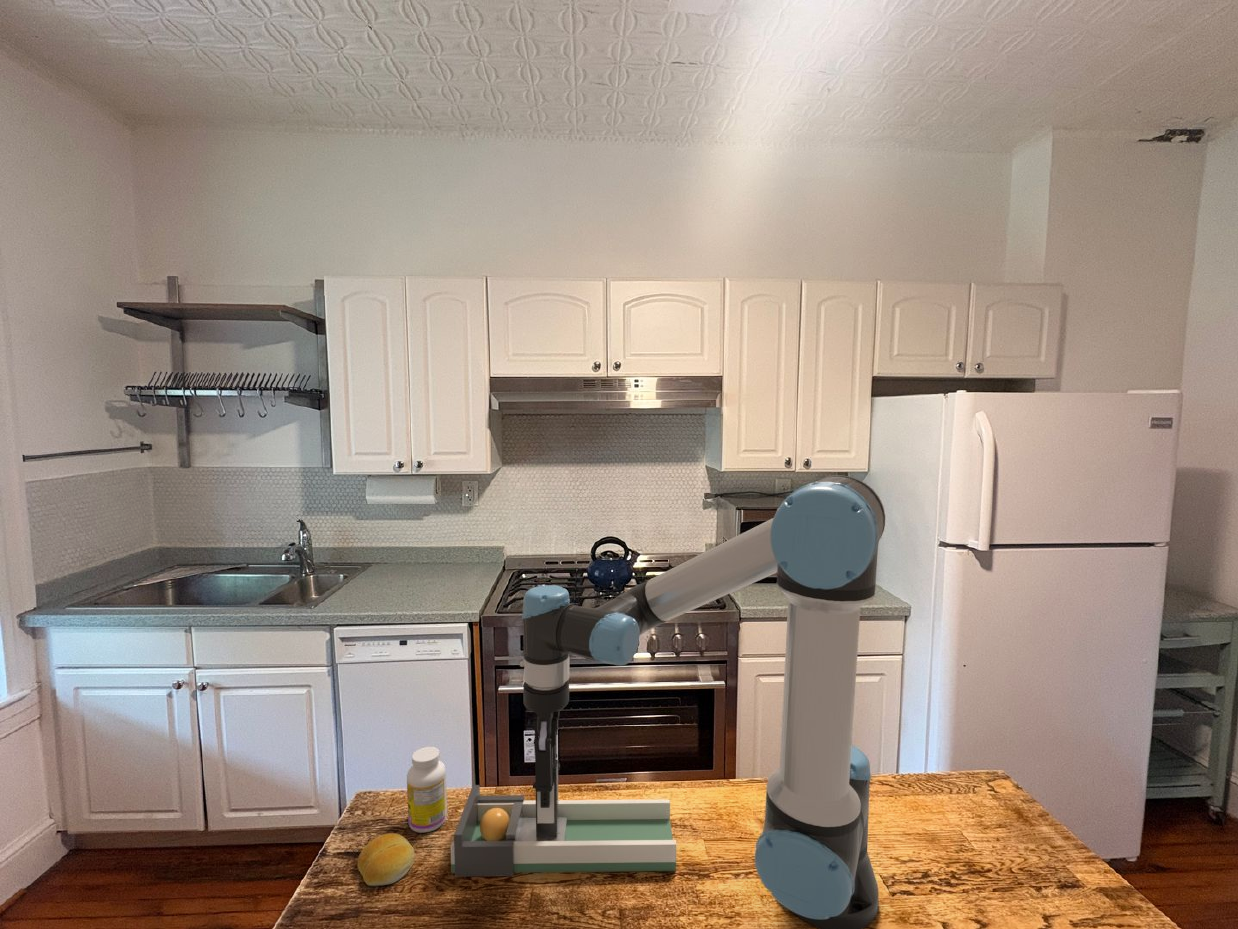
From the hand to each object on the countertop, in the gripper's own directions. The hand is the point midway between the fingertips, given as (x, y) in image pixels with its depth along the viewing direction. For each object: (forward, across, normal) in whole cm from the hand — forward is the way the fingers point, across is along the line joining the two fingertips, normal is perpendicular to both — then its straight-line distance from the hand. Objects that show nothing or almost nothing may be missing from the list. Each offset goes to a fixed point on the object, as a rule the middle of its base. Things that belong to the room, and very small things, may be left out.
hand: (546, 814), depth 98 cm
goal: (+6, 0, -9) cm, 10 cm away
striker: (+4, 0, -2) cm, 4 cm away
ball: (+2, 0, -9) cm, 9 cm away
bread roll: (+6, +4, -26) cm, 27 cm away
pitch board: (+6, 0, +3) cm, 7 cm away
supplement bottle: (+6, -6, -22) cm, 24 cm away
